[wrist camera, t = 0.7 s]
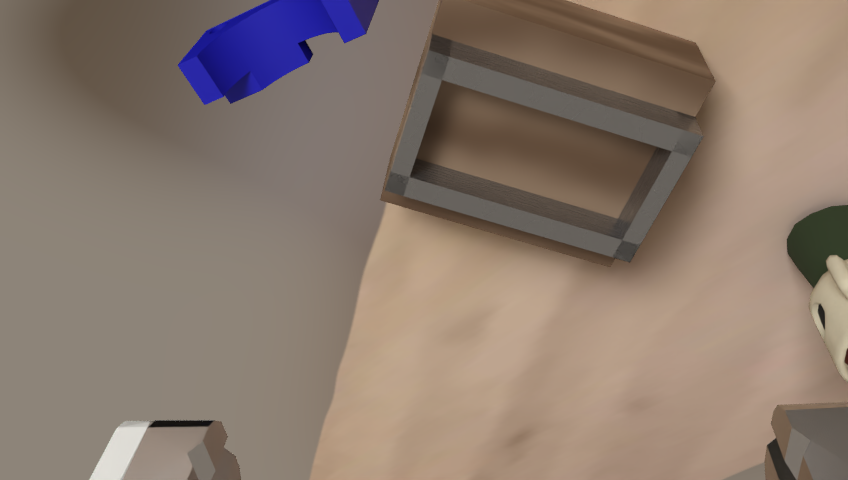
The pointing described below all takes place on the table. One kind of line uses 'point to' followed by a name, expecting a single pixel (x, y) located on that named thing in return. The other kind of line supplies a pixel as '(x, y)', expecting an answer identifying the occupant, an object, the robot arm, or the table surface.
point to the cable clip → (267, 44)
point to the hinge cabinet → (548, 124)
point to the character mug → (826, 275)
